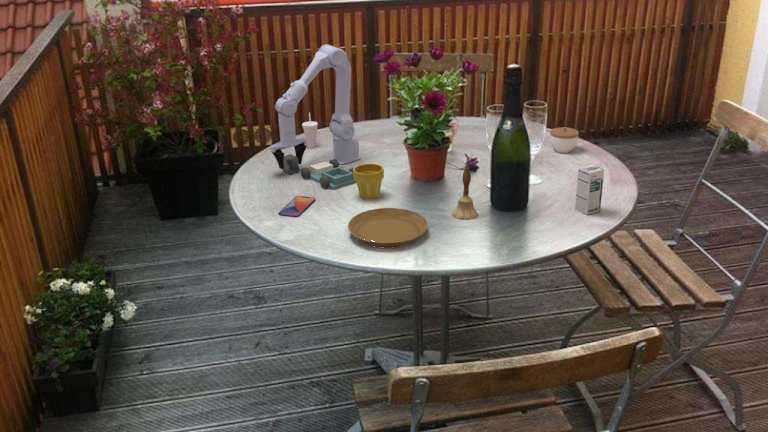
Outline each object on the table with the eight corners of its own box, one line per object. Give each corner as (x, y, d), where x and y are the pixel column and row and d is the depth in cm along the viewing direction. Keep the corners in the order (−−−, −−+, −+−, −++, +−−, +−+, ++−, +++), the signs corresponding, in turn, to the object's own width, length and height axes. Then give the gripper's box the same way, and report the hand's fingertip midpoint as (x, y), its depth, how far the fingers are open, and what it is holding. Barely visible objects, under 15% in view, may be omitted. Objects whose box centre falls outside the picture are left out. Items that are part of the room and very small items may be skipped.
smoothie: (320, 143, 297) (318, 110, 291) (317, 149, 291) (315, 115, 285) (305, 143, 298) (302, 110, 292) (302, 148, 292) (299, 115, 286)
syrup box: (586, 215, 228) (591, 172, 222) (574, 208, 232) (578, 166, 226) (600, 211, 230) (605, 169, 224) (587, 205, 235) (591, 163, 229)
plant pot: (347, 195, 247) (346, 169, 243) (368, 187, 253) (368, 160, 249) (369, 203, 240) (368, 176, 236) (390, 194, 247) (390, 167, 243)
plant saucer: (422, 254, 207) (422, 244, 206) (340, 249, 211) (339, 239, 210) (431, 219, 229) (431, 209, 227) (357, 215, 233) (357, 206, 231)
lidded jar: (579, 154, 278) (582, 131, 274) (551, 155, 278) (553, 131, 274) (573, 145, 288) (575, 123, 284) (546, 146, 288) (548, 123, 284)
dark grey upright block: (291, 169, 271) (290, 154, 269) (299, 172, 268) (298, 157, 265) (282, 171, 269) (281, 156, 267) (290, 175, 266) (288, 160, 263)
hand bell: (473, 208, 235) (475, 161, 228) (481, 218, 228) (483, 171, 221) (449, 210, 234) (449, 164, 227) (455, 220, 226) (456, 173, 220)
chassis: (329, 166, 273) (329, 156, 271) (362, 180, 259) (361, 170, 257) (298, 175, 265) (297, 165, 263) (329, 191, 251) (329, 180, 249)
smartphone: (277, 216, 234) (277, 213, 233) (296, 198, 247) (296, 195, 246) (298, 219, 232) (298, 216, 231) (316, 200, 244) (316, 197, 244)
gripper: (298, 124, 269) (300, 158, 274) (264, 132, 261) (267, 167, 266) (308, 128, 264) (311, 163, 269) (274, 137, 256) (277, 172, 261)
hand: (290, 166), depth 268 cm, fingers open, 7 cm apart
